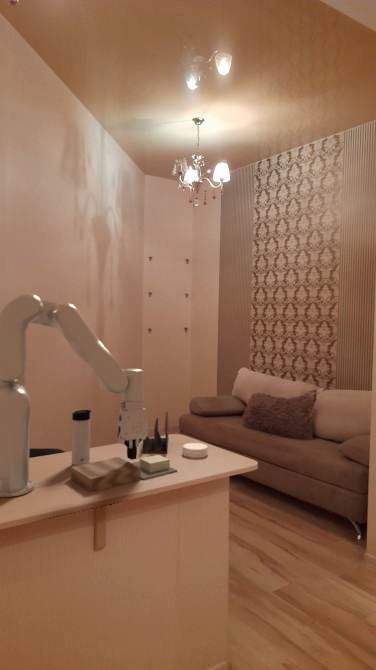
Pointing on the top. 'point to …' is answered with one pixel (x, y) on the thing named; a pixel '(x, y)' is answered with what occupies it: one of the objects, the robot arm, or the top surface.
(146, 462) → the tile
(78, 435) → the travel mug
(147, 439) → the letter holder
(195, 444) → the white short cylinder
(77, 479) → the riser
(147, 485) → the top surface
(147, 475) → the mat
